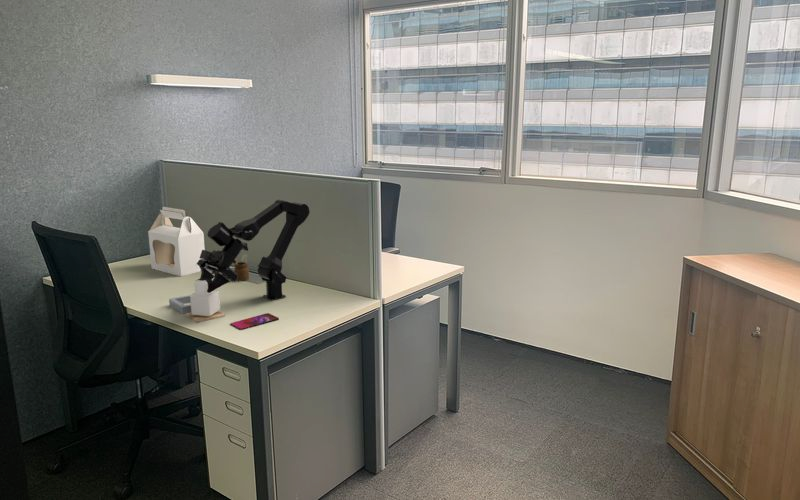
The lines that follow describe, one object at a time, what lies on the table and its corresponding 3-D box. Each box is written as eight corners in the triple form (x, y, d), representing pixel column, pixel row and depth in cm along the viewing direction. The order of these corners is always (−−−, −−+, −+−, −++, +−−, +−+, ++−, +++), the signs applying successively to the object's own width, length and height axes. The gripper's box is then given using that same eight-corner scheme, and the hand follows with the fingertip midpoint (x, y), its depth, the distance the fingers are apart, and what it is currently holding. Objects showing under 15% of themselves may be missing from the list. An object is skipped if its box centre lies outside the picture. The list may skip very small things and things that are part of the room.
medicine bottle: (202, 308, 213) (199, 276, 210) (220, 309, 211) (218, 277, 208) (191, 315, 206) (188, 281, 203) (209, 316, 204) (207, 283, 201)
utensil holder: (246, 281, 250) (244, 253, 247) (231, 280, 251) (230, 253, 248) (251, 277, 256) (249, 250, 253) (237, 277, 256) (235, 250, 254)
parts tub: (216, 306, 218) (216, 300, 217) (183, 314, 210) (182, 307, 209) (202, 298, 227) (202, 292, 227) (169, 305, 219) (169, 298, 219)
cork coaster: (225, 316, 208) (225, 315, 208) (197, 322, 202) (197, 321, 201) (212, 309, 215) (212, 307, 215) (185, 315, 209) (185, 313, 209)
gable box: (151, 268, 269) (145, 207, 263) (176, 263, 280) (171, 204, 273) (181, 276, 257) (176, 212, 250) (206, 270, 267) (202, 208, 261)
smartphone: (229, 323, 200) (267, 312, 210) (229, 325, 200) (268, 315, 210) (240, 329, 195) (280, 318, 205) (240, 331, 195) (280, 320, 205)
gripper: (199, 236, 212) (172, 273, 207) (227, 244, 200) (200, 283, 195) (220, 254, 220) (195, 289, 214) (249, 262, 207) (223, 300, 202)
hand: (203, 290), depth 206 cm, fingers closed on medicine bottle, 6 cm apart
